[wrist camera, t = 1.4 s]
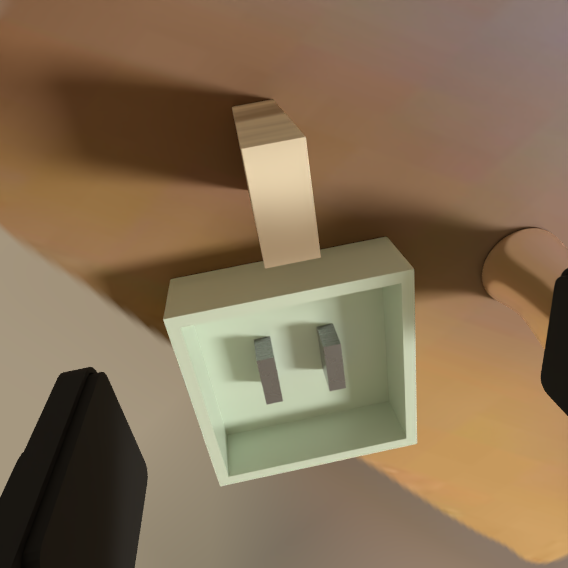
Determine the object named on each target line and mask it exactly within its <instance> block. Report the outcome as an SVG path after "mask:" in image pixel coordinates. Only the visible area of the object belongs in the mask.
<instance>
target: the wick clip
mask: <svg viewBox="0 0 568 568" xmlns="http://www.w3.org/2000/svg"><path fill="white" fill-rule="evenodd" d="M317 334H318V341H319V348H320V355H321V362H322V369H323V372H324V375H325V378H326V382H327V385H328V388H329V391H334V390H339V389H344V388H346V384H345V375H344V366H343V358H342V349H341V343H340V340H339V338H338V335H337V333H336V330H335V328H334V325H333V323H332V324H327V325H322V326H317ZM254 346H255V354H256V361H257V366H258V370H259V374H260V379H261V383H262V387H263V391H264V396H265V400H266V404H267V405H268V404H273V403H277V402H282V401H283V398H282V392H281V387H280V382H279V376H278V372H277V367H276V362H275V357H274V352H273V348H272V343H271V338H270V336H268V337H263V338H259V339H254Z"/></svg>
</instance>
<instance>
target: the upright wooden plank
mask: <svg viewBox="0 0 568 568" xmlns="http://www.w3.org/2000/svg"><path fill="white" fill-rule="evenodd" d="M232 111H233V116H234V121H235V126H236V131H237V136H238V141H239V146H240V151H241V156H242V161H243V166H244V171H245V177H246V182H247V187H248V192H249V196H250V201H251V206H252V210H253V215H254V220H255V224H256V229H257V234H258V238H259V243H260V248H261V252H262V257H263V262H264V267H265V269H266V268H271V267H276V266H281V265H286V264H291V263H296V262H301V261H306V260H311V259H316V258H321V254H320V246H319V238H318V230H317V223H316V215H315V207H314V199H313V191H312V183H311V175H310V168H309V160H308V152H307V144H306V137H305V136H304V134H303V133H302V132H301V131H300V130H299V129H298V128H297V126H296V125H295V124H294V123H293V122H292V121H291V120H290V118H289V117H288V116H287V115H286V114H285V113H284V112H283V110H282V109H281V108H280V107H279V106H278V105H277V104H276V102H275V101H274V100H273V99H271V100H266V101H261V102H255V103H250V104H244V105H239V106H233V107H232Z"/></svg>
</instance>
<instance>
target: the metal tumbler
mask: <svg viewBox="0 0 568 568" xmlns="http://www.w3.org/2000/svg"><path fill="white" fill-rule="evenodd" d="M567 268H568V248H567V247H566V246H565V245H564V244H563V243H562V242H561V241H560V240H559V239H558V238H557V237H556V236H555V235H553V234H552V233H550V232H549V231H547V230H544V229H539V228H527V229H522V230H519V231H516V232H514V233H512V234H510V235H508V236H507V237H505V238H504V239H502V240H501V241H500V242H499V243H498V244H497V245H496V246H495V247H494V248H493V249H492V250H491V252H490V253H489V254H488V256H487V258H486V260H485V262H484V265H483V269H482V283H483V286H484V288H485V290H486V292H487V293H488V294H489V295H490V296H491V297H492V298H493V299H495V300H496V301H498V302H500V303H501V304H503V305H505V306H507V307H509V308H510V309H512V310H513V311H515V312H516V313H517V314H518V315H520V317H521V318H522V319H523V320H524V321H525V322H526V324H527V325H528V326H529V328H530V329H531V330H532V332H533V333H534V335H535V336H536V338H537V339H538V341H539V342H540V344H541V345H542V347H543V348H544V350H545V344H546V338H547V331H548V325H549V318H550V311H551V305H552V298H553V291H554V285H555V281H556V280H557V278H559V277H561V274H562V272H563V271H564V270H565V269H567Z"/></svg>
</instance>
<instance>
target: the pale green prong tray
mask: <svg viewBox="0 0 568 568" xmlns="http://www.w3.org/2000/svg"><path fill="white" fill-rule="evenodd" d="M320 254H321V258H316V259H311V260H306V261H301V262H296V263H291V264H286V265H281V266H276V267H271V268H266V269H265V267H264V262H263V261H260V262H255V263H250V264H245V265H240V266H235V267H230V268H225V269H220V270H215V271H210V272H205V273H200V274H195V275H190V276H185V277H179V278H174V279H170V284H169V290H168V295H167V301H166V306H165V312H164V317H163V321H164V324H165V326H166V329H167V332H168V335H169V338H170V341H171V344H172V347H173V350H174V353H175V356H176V359H177V362H178V364H179V367H180V370H181V373H182V376H183V379H184V382H185V385H186V388H187V391H188V394H189V397H190V399H191V403H192V405H193V408H194V411H195V414H196V417H197V420H198V423H199V426H200V429H201V431H202V435H203V438H204V441H205V444H206V446H207V449H208V452H209V455H210V458H211V461H212V464H213V467H214V470H215V473H216V475H217V478H218V481H219V484H220V486H224V485H229V484H233V483H238V482H242V481H247V480H251V479H256V478H261V477H266V476H270V475H275V474H279V473H284V472H288V471H293V470H298V469H302V468H307V467H312V466H316V465H321V464H326V463H330V462H335V461H339V460H344V459H349V458H353V457H358V456H362V455H367V454H372V453H376V452H381V451H386V450H390V449H395V448H399V447H404V446H409V445H413V444H417V412H416V350H415V288H414V268H413V267H412V266H411V265H410V263H409V262H408V261H407V260H406V259H405V257H404V256H403V255H402V254H401V253H400V252H399V250H398V249H397V248H396V247H395V246H394V244H393V243H392V242H391V241H390V240H389V238H388V237H382V238H377V239H372V240H366V241H361V242H356V243H351V244H346V245H341V246H336V247H331V248H326V249H321V250H320ZM332 323H333V325H334V328H335V330H336V333H337V335H338V338H339V340H340V343H341V349H342V358H343V366H344V375H345V384H346V388H344V389H339V390H334V391H329V388H328V385H327V382H326V378H325V375H324V372H323V369H322V362H321V355H320V348H319V341H318V334H317V326H322V325H327V324H332ZM268 336H270V338H271V343H272V348H273V352H274V357H275V362H276V367H277V372H278V376H279V382H280V387H281V392H282V398H283V401H282V402H277V403H273V404H268V405H267V404H266V400H265V396H264V391H263V387H262V383H261V379H260V374H259V370H258V366H257V361H256V354H255V346H254V339H259V338H263V337H268Z"/></svg>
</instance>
